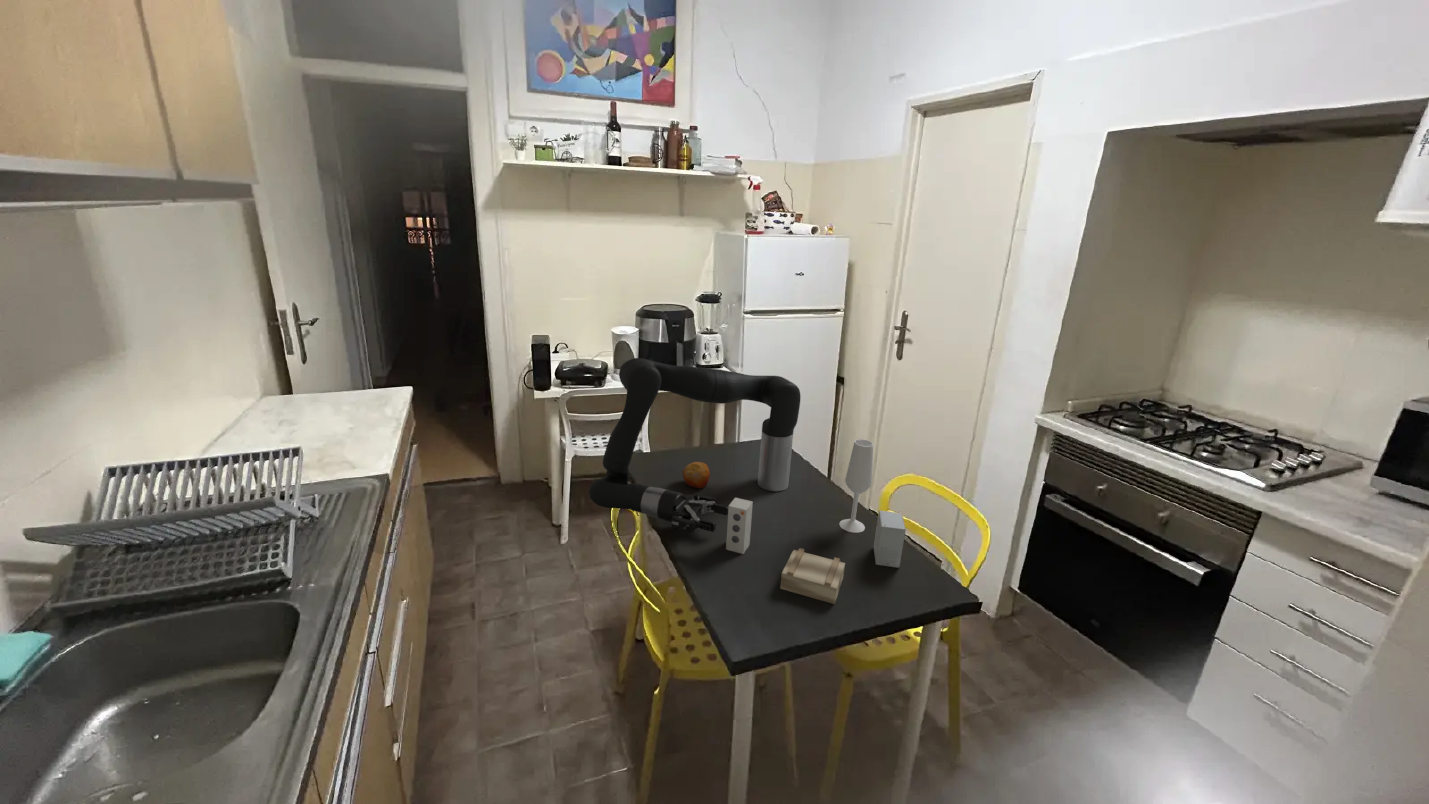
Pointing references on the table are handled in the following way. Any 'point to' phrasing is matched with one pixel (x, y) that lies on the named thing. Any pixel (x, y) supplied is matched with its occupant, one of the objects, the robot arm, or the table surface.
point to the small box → (889, 539)
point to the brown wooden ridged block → (813, 576)
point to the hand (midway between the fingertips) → (721, 519)
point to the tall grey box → (739, 525)
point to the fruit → (696, 474)
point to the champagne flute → (858, 479)
